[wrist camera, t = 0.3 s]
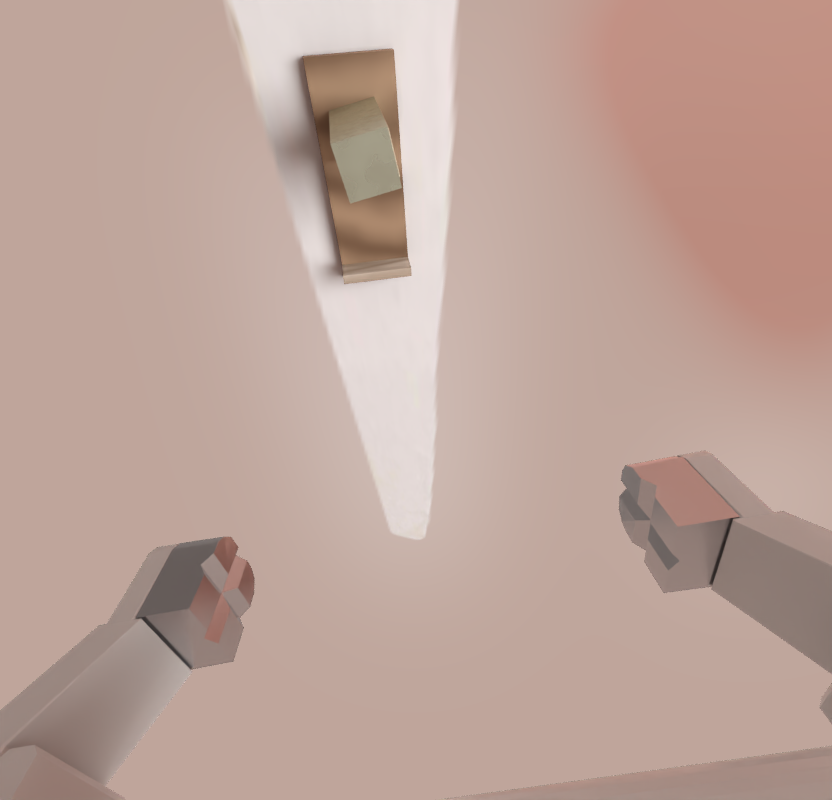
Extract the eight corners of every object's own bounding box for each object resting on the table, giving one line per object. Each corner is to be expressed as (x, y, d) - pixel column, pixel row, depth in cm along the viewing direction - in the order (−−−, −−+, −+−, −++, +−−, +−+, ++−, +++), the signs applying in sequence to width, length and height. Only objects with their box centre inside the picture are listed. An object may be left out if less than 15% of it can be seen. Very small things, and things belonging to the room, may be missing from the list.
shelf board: (303, 56, 41) (301, 61, 38) (392, 48, 42) (397, 53, 39) (344, 275, 58) (345, 290, 56) (407, 267, 59) (411, 282, 56)
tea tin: (345, 161, 47) (350, 203, 38) (328, 110, 44) (330, 143, 35) (388, 148, 47) (403, 187, 38) (375, 95, 44) (389, 125, 34)
